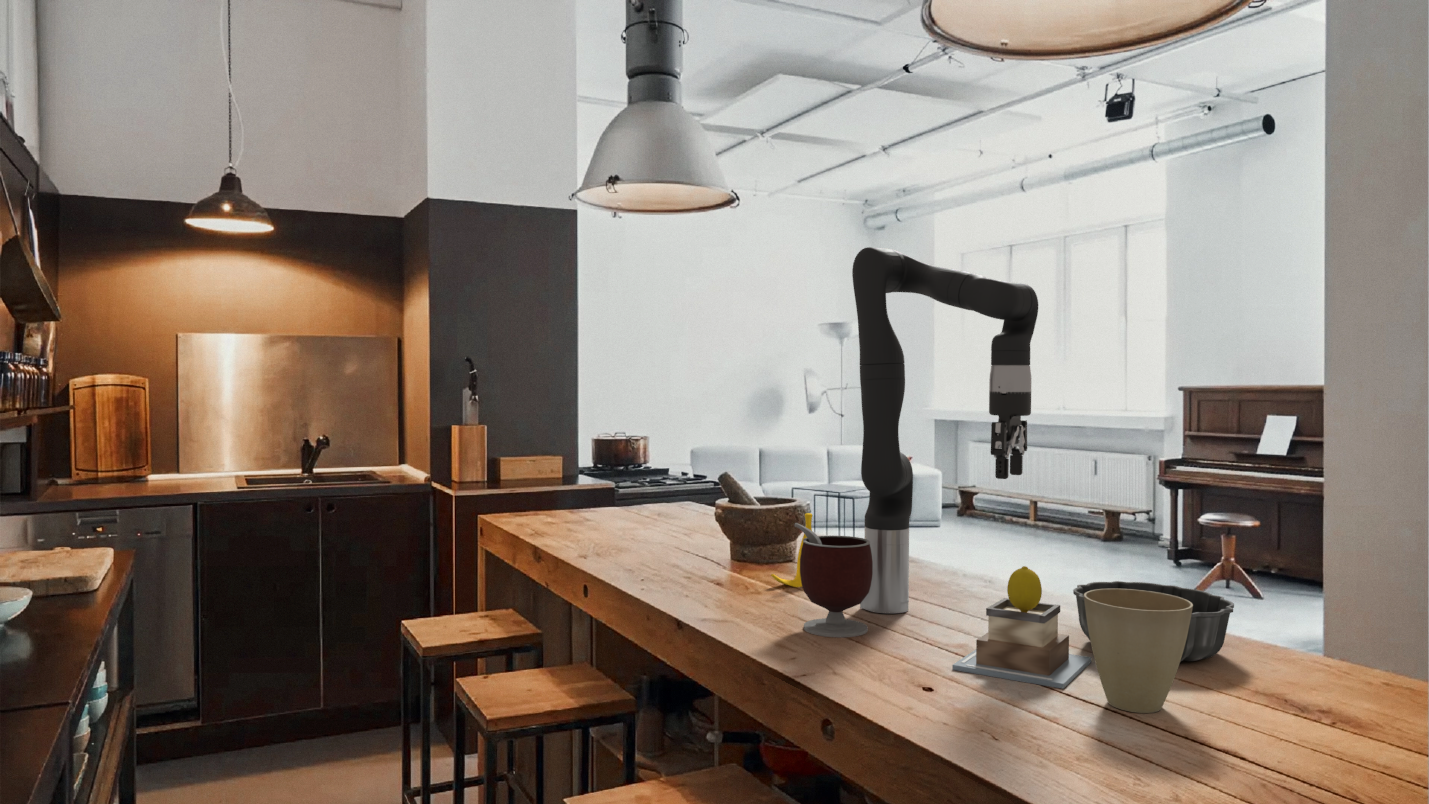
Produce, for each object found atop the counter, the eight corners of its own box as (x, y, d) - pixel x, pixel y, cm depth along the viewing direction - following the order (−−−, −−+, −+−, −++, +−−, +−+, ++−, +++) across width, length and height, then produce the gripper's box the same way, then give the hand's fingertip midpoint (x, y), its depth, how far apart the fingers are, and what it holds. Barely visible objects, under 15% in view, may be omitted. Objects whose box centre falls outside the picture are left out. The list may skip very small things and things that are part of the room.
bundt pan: (1221, 639, 187) (1222, 586, 187) (1246, 679, 162) (1247, 617, 162) (1071, 627, 196) (1072, 576, 196) (1073, 663, 171) (1074, 604, 171)
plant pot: (1137, 728, 139) (1139, 614, 139) (1060, 696, 153) (1062, 592, 152) (1214, 714, 145) (1216, 604, 145) (1134, 685, 159) (1135, 585, 158)
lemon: (1043, 618, 166) (1043, 570, 166) (1008, 616, 167) (1009, 568, 167) (1039, 610, 171) (1040, 564, 171) (1005, 608, 172) (1006, 562, 172)
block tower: (976, 663, 167) (976, 608, 167) (998, 647, 177) (999, 595, 177) (1049, 675, 161) (1050, 618, 160) (1068, 658, 171) (1069, 604, 170)
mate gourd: (880, 625, 196) (881, 523, 196) (860, 641, 184) (861, 533, 183) (805, 616, 203) (806, 518, 202) (781, 632, 190) (781, 527, 190)
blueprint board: (952, 669, 166) (952, 664, 166) (987, 645, 181) (987, 640, 181) (1063, 688, 156) (1063, 683, 156) (1091, 661, 171) (1091, 656, 171)
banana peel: (801, 574, 247) (802, 507, 247) (854, 588, 232) (854, 516, 231) (747, 582, 238) (748, 511, 238) (798, 596, 222) (798, 521, 222)
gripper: (1002, 389, 194) (1001, 472, 195) (977, 389, 183) (976, 478, 183) (1041, 389, 190) (1040, 475, 191) (1018, 390, 178) (1017, 481, 179)
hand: (1009, 476), depth 187 cm, fingers open, 8 cm apart
